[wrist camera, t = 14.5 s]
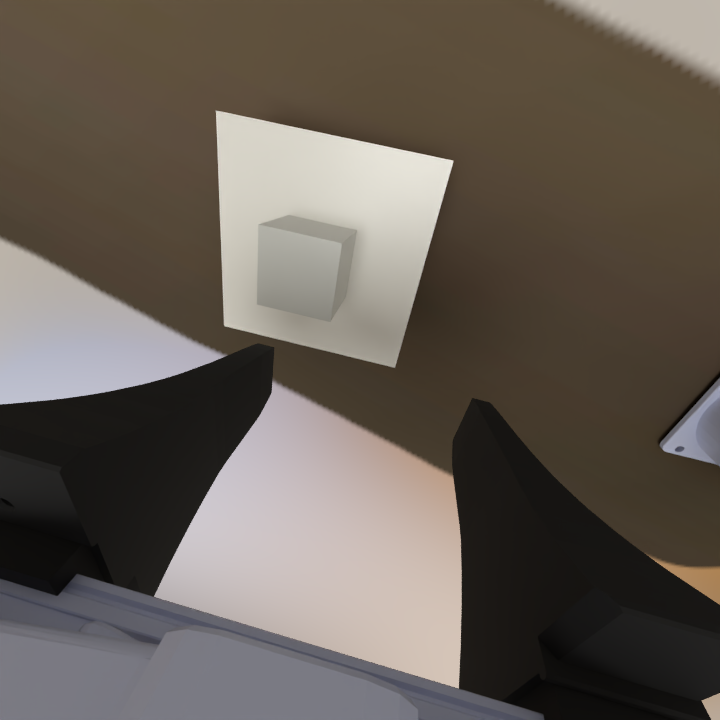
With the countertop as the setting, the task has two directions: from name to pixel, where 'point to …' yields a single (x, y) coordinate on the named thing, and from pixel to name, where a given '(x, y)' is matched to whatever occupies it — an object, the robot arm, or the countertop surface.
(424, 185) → the grey knobbed block
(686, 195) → the countertop surface
